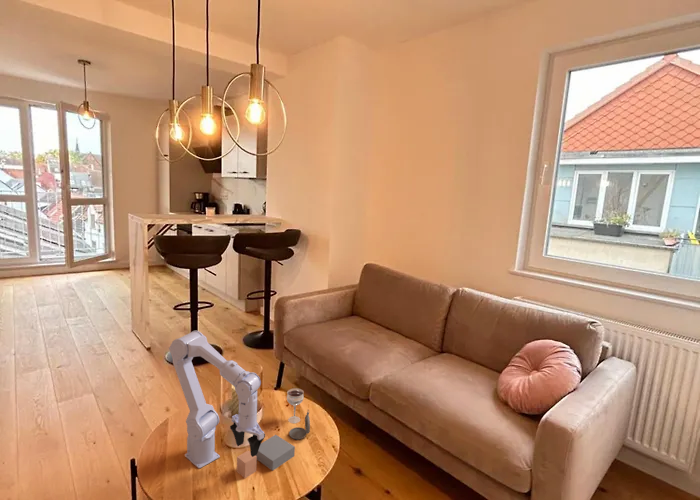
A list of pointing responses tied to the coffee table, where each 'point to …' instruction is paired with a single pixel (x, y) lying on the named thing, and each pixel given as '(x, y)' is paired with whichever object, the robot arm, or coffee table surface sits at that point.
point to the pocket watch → (301, 429)
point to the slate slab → (275, 452)
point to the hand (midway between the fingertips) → (247, 449)
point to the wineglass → (295, 402)
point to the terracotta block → (246, 464)
